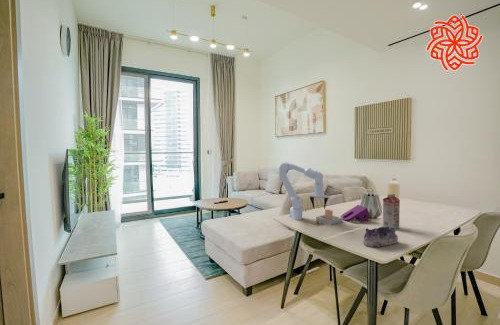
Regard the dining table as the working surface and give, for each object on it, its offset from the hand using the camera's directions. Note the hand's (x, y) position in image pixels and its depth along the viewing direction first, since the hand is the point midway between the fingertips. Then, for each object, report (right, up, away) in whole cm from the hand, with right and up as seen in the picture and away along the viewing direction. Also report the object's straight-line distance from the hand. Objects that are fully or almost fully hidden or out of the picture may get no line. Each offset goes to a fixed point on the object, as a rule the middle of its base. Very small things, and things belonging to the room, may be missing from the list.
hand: (319, 207), depth 170 cm
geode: (+22, -12, -40) cm, 47 cm away
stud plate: (-3, -10, -7) cm, 13 cm away
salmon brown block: (+7, -9, -2) cm, 11 cm away
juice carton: (+43, -10, -16) cm, 47 cm away
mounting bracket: (+26, -10, +1) cm, 27 cm away
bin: (+7, -10, -2) cm, 12 cm away
